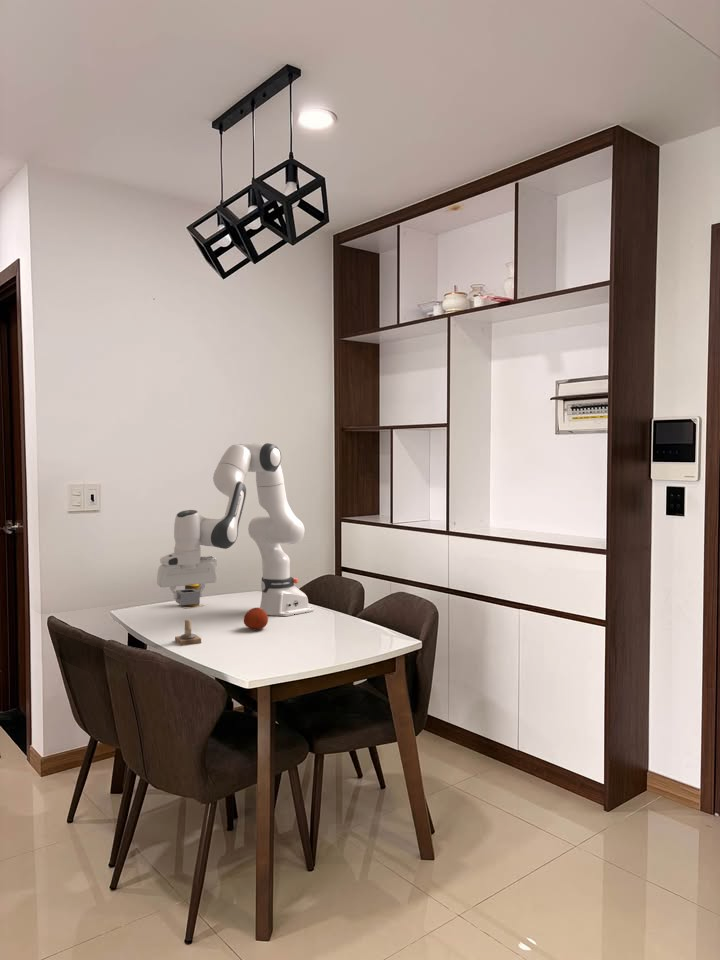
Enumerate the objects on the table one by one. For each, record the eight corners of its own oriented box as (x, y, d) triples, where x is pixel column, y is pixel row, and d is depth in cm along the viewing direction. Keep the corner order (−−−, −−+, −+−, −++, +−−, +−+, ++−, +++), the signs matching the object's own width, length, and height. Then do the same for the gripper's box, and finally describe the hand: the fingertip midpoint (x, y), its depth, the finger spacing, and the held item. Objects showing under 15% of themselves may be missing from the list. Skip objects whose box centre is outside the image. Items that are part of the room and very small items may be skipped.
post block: (194, 638, 259) (194, 617, 259) (201, 643, 253) (201, 621, 253) (175, 640, 255) (174, 619, 255) (181, 645, 249) (180, 623, 249)
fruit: (241, 627, 275) (241, 606, 274) (264, 625, 278) (264, 604, 277) (246, 633, 266) (246, 611, 266) (270, 631, 270) (270, 609, 269)
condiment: (203, 605, 311) (203, 577, 310) (186, 608, 305) (185, 580, 305) (194, 603, 316) (194, 575, 316) (177, 606, 310) (176, 577, 310)
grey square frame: (193, 600, 258) (193, 588, 258) (199, 603, 252) (199, 591, 252) (175, 601, 255) (175, 590, 254) (181, 605, 249) (181, 593, 249)
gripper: (213, 554, 261) (213, 593, 261) (155, 558, 250) (155, 599, 251) (219, 556, 255) (219, 596, 256) (160, 561, 245) (160, 602, 246)
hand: (187, 597), depth 253 cm, fingers closed on grey square frame, 6 cm apart
